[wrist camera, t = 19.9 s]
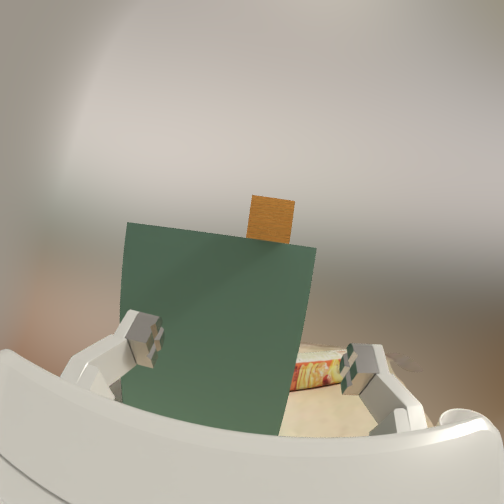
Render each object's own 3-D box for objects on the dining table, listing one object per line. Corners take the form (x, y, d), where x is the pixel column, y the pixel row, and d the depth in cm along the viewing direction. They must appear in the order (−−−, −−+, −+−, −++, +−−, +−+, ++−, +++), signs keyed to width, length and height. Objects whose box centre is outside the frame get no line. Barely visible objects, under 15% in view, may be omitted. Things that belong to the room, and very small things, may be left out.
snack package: (349, 369, 57) (356, 342, 57) (367, 380, 51) (376, 353, 51) (266, 379, 50) (272, 348, 49) (281, 396, 43) (288, 364, 43)
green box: (273, 451, 28) (316, 248, 27) (124, 420, 29) (127, 222, 28) (272, 411, 38) (302, 246, 37) (149, 388, 39) (159, 226, 38)
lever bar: (289, 243, 19) (294, 201, 19) (246, 237, 19) (252, 195, 19) (276, 242, 41) (279, 222, 41) (256, 239, 41) (259, 219, 41)
